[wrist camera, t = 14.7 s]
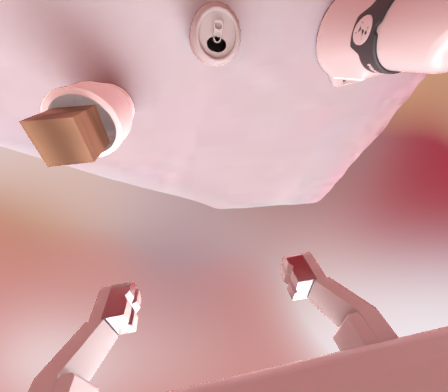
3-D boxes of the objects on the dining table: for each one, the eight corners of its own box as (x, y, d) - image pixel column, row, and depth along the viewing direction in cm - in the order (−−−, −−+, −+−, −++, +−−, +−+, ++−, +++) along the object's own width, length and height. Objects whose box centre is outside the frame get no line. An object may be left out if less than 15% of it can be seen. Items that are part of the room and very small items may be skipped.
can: (188, 61, 39) (190, 63, 29) (189, 10, 35) (191, -7, 25) (226, 66, 40) (239, 70, 31) (230, 18, 36) (248, 4, 27)
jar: (92, 129, 43) (56, 158, 31) (75, 74, 37) (24, 83, 25) (143, 131, 45) (128, 159, 33) (135, 79, 39) (114, 89, 27)
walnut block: (95, 104, 28) (72, 117, 22) (110, 142, 31) (93, 161, 25) (53, 107, 27) (19, 121, 22) (72, 146, 30) (47, 166, 25)
